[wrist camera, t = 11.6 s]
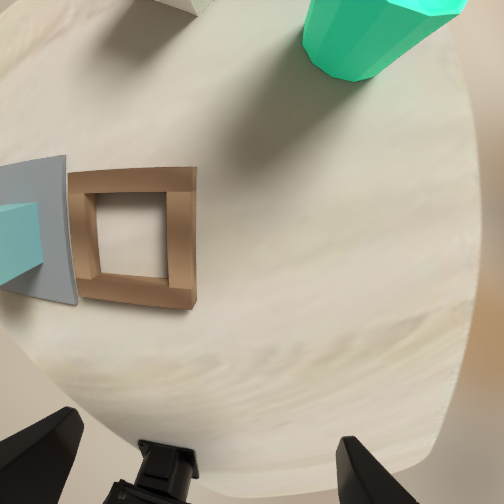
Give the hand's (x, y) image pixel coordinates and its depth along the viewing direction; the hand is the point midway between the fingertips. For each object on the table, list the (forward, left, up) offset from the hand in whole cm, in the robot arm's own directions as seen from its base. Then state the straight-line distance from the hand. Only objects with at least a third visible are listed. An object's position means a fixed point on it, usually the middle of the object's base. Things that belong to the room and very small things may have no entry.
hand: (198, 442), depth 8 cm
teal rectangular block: (+3, +19, -12) cm, 23 cm away
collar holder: (+3, +7, -13) cm, 15 cm away
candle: (+17, -7, -13) cm, 23 cm away
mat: (+3, +19, -13) cm, 23 cm away
